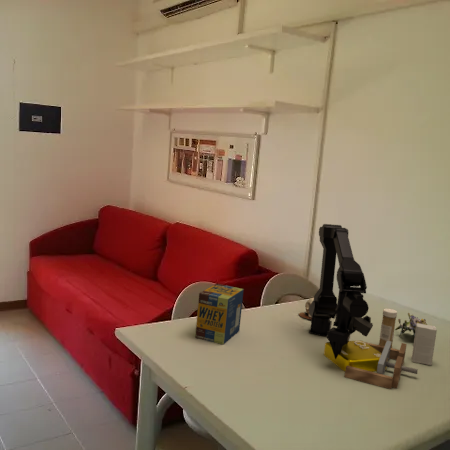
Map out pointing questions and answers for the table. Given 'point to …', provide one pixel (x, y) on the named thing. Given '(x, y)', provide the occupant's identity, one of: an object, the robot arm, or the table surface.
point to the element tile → (355, 356)
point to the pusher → (384, 362)
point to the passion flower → (410, 324)
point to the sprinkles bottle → (387, 326)
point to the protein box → (219, 313)
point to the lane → (376, 377)
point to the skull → (307, 309)
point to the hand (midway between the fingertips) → (340, 354)
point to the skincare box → (424, 344)
